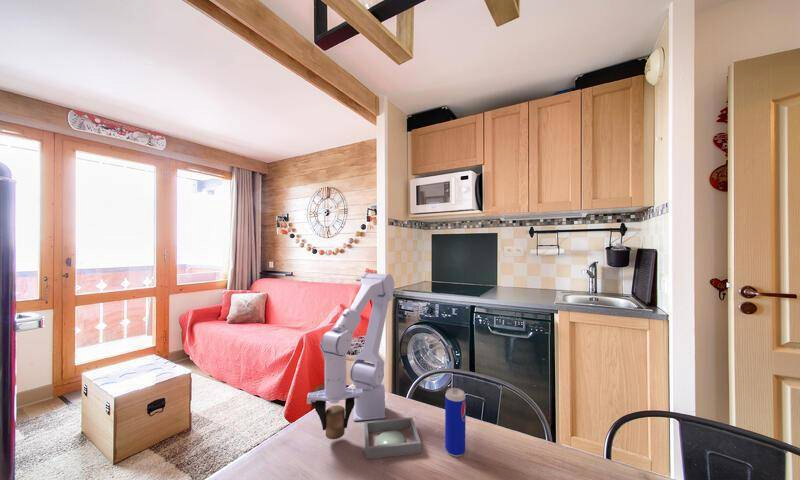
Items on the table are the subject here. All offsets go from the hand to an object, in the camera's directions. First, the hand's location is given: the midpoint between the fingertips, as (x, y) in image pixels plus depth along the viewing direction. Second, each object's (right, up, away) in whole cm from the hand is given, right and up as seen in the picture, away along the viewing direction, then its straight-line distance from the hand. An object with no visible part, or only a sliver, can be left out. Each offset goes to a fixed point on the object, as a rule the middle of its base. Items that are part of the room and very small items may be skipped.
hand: (335, 426), depth 77 cm
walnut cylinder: (0, -2, 0) cm, 2 cm away
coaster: (+15, -4, 0) cm, 16 cm away
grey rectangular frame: (+15, -4, 0) cm, 16 cm away
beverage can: (+32, -4, -3) cm, 32 cm away
